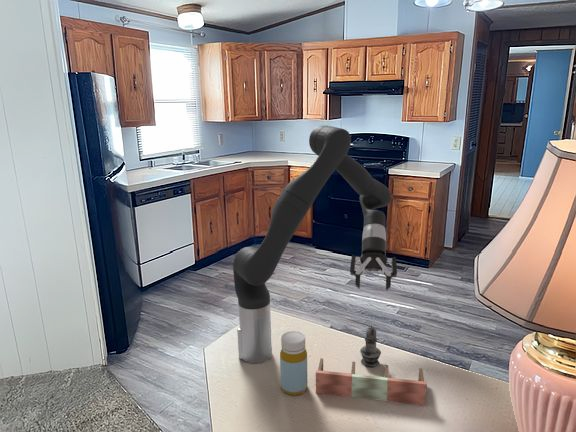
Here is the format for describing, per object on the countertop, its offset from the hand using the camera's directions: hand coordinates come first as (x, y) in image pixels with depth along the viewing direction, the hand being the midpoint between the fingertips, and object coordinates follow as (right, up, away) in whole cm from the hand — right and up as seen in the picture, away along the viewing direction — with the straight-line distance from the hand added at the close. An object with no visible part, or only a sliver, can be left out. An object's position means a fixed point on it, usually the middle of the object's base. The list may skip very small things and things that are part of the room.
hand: (372, 288), depth 130 cm
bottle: (-24, -24, -17) cm, 38 cm away
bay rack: (-4, -23, -17) cm, 29 cm away
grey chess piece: (-2, -20, -7) cm, 22 cm away
